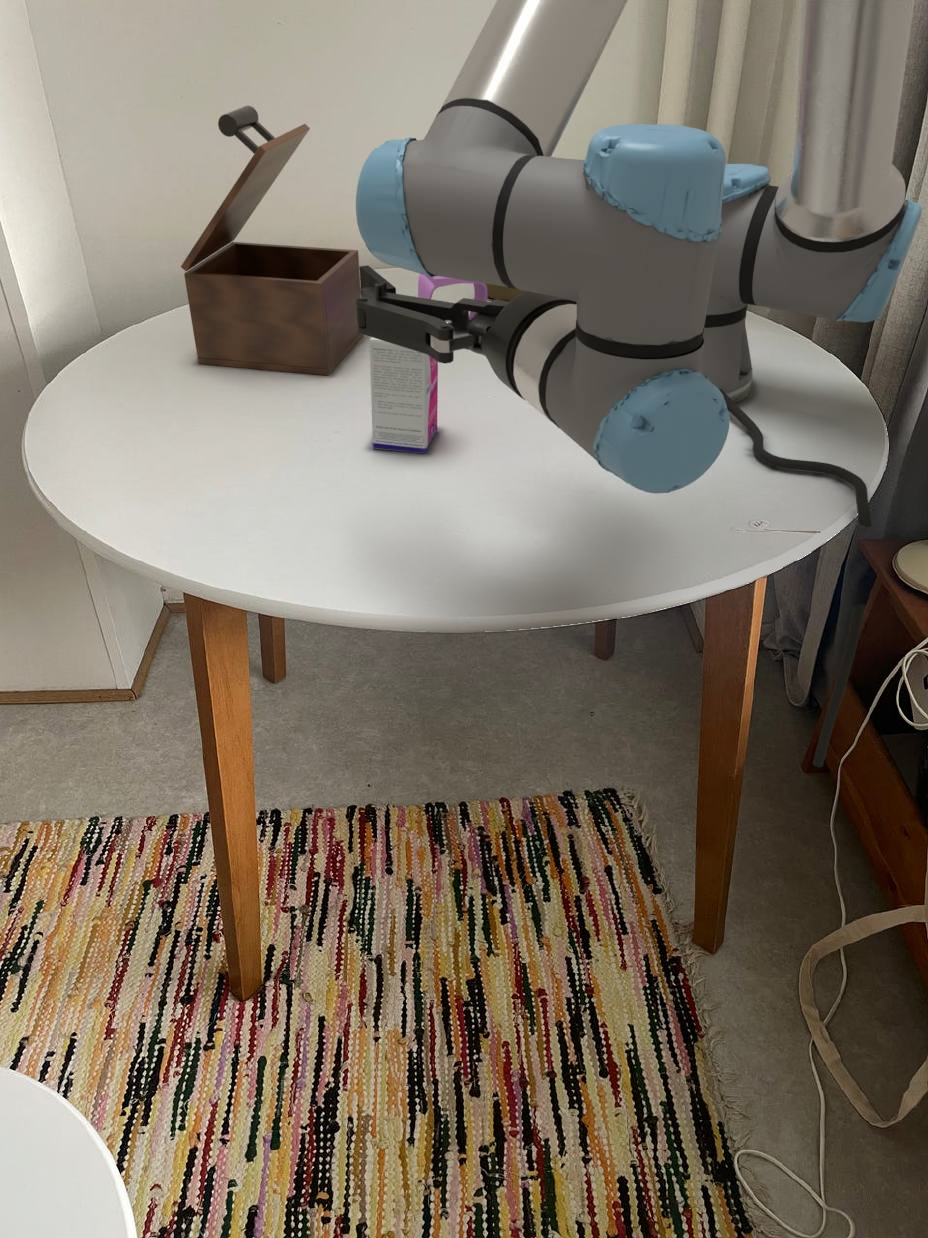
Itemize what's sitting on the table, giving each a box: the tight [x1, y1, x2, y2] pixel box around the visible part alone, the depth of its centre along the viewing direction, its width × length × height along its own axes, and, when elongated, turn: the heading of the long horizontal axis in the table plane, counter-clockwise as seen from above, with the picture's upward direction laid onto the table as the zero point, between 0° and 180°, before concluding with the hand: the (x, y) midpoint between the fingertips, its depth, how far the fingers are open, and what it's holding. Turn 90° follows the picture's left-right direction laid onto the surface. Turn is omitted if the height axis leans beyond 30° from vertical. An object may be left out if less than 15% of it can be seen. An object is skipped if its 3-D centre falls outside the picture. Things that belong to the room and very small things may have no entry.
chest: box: [183, 241, 364, 376], centre depth 121 cm, size 17×14×11 cm
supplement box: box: [369, 337, 439, 454], centre depth 100 cm, size 6×6×12 cm
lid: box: [180, 105, 311, 272], centre depth 114 cm, size 17×14×6 cm
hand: (440, 272), depth 85 cm, fingers open, 13 cm apart
